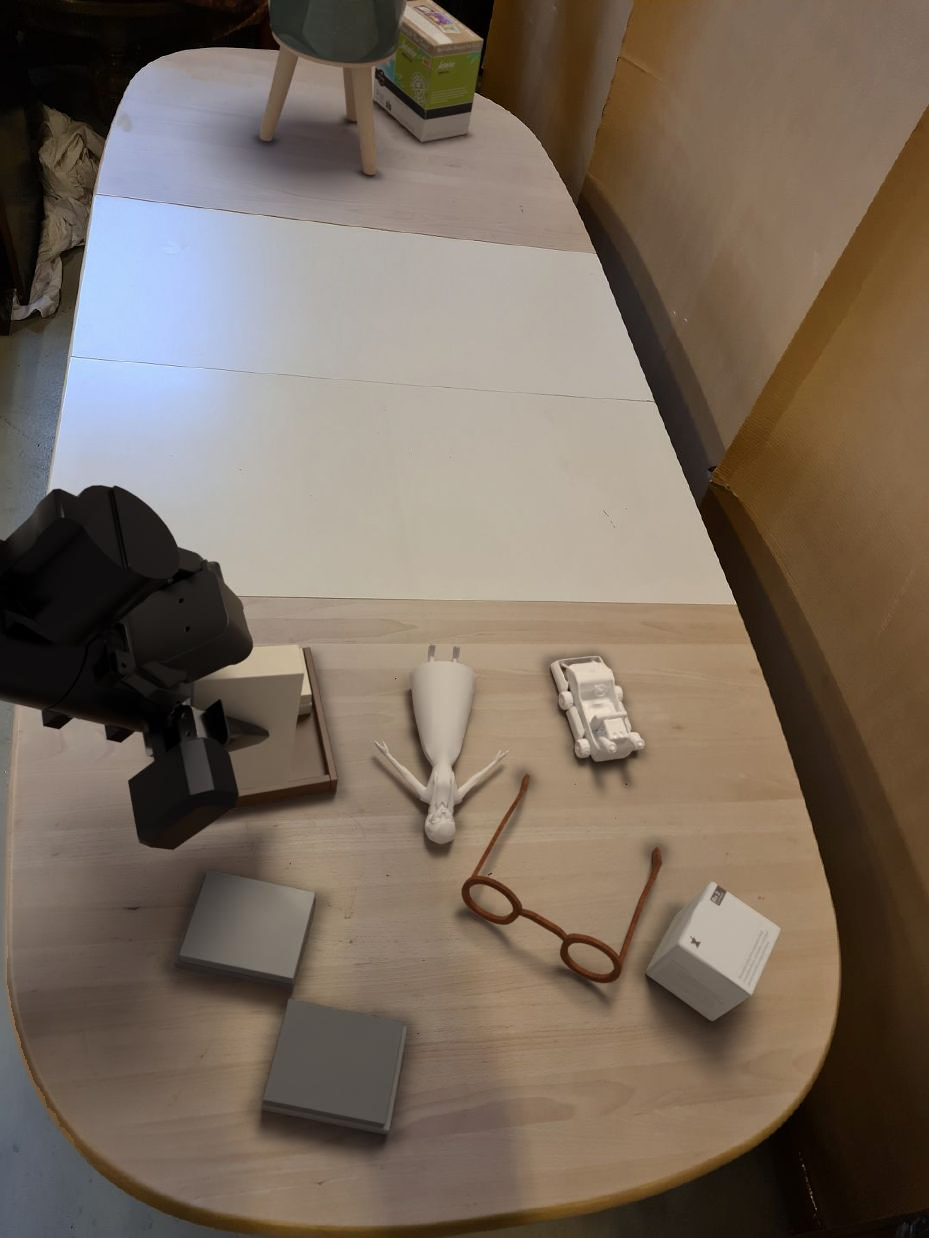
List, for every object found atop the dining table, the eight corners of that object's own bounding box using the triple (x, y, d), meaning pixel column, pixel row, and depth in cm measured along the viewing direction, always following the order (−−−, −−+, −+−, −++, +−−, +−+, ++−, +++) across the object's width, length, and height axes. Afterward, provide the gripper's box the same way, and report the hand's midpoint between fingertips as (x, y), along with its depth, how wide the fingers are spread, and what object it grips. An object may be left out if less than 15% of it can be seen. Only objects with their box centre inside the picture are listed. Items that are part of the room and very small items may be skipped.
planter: (362, 106, 147) (380, -148, 121) (423, 172, 137) (458, -89, 111) (236, 115, 138) (227, -157, 112) (293, 187, 128) (297, -94, 102)
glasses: (454, 903, 69) (465, 880, 65) (524, 775, 77) (537, 748, 73) (605, 992, 67) (626, 974, 63) (661, 852, 74) (683, 827, 70)
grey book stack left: (175, 968, 63) (171, 955, 60) (205, 880, 67) (202, 865, 64) (292, 992, 63) (293, 981, 61) (315, 904, 67) (317, 890, 65)
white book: (188, 795, 63) (190, 681, 54) (185, 765, 64) (187, 650, 55) (287, 784, 65) (305, 673, 56) (282, 755, 67) (298, 643, 58)
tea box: (370, 101, 148) (378, 0, 137) (418, 94, 153) (430, -4, 141) (420, 144, 142) (434, 42, 131) (469, 135, 147) (486, 37, 135)
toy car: (602, 658, 86) (616, 632, 82) (644, 768, 79) (661, 744, 76) (544, 664, 84) (555, 638, 81) (582, 777, 77) (596, 753, 74)
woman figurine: (511, 642, 79) (518, 838, 69) (501, 667, 83) (506, 855, 73) (381, 631, 77) (370, 829, 68) (377, 657, 81) (365, 848, 71)
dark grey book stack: (261, 1109, 58) (260, 1102, 56) (288, 1006, 62) (288, 995, 60) (387, 1134, 59) (391, 1128, 56) (405, 1030, 63) (410, 1020, 60)
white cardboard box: (711, 1023, 67) (753, 998, 61) (642, 973, 68) (676, 943, 62) (742, 957, 70) (784, 928, 64) (675, 911, 71) (711, 877, 66)
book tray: (169, 820, 69) (166, 809, 67) (156, 679, 76) (153, 666, 74) (336, 790, 73) (338, 779, 71) (309, 659, 80) (310, 646, 78)
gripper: (185, 727, 41) (388, 778, 53) (126, 451, 50) (309, 548, 63) (35, 841, 44) (258, 863, 57) (7, 562, 54) (202, 633, 66)
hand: (259, 717), depth 60 cm, fingers closed on white book, 3 cm apart
